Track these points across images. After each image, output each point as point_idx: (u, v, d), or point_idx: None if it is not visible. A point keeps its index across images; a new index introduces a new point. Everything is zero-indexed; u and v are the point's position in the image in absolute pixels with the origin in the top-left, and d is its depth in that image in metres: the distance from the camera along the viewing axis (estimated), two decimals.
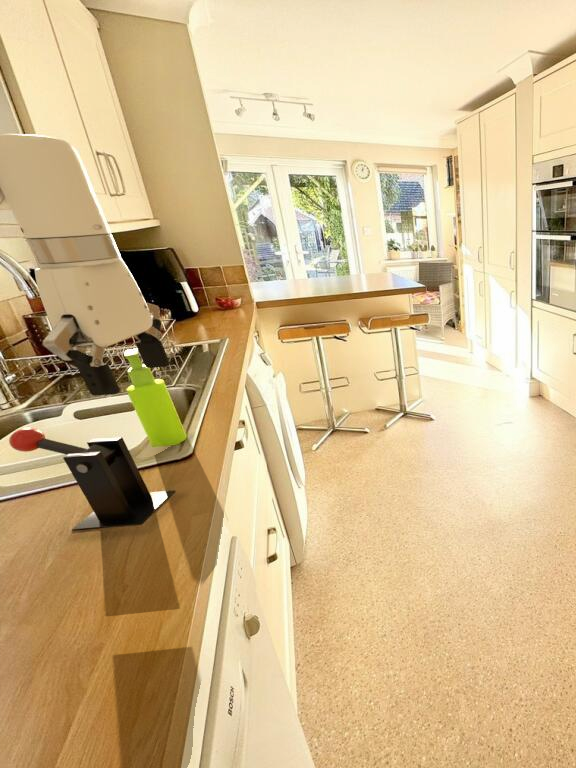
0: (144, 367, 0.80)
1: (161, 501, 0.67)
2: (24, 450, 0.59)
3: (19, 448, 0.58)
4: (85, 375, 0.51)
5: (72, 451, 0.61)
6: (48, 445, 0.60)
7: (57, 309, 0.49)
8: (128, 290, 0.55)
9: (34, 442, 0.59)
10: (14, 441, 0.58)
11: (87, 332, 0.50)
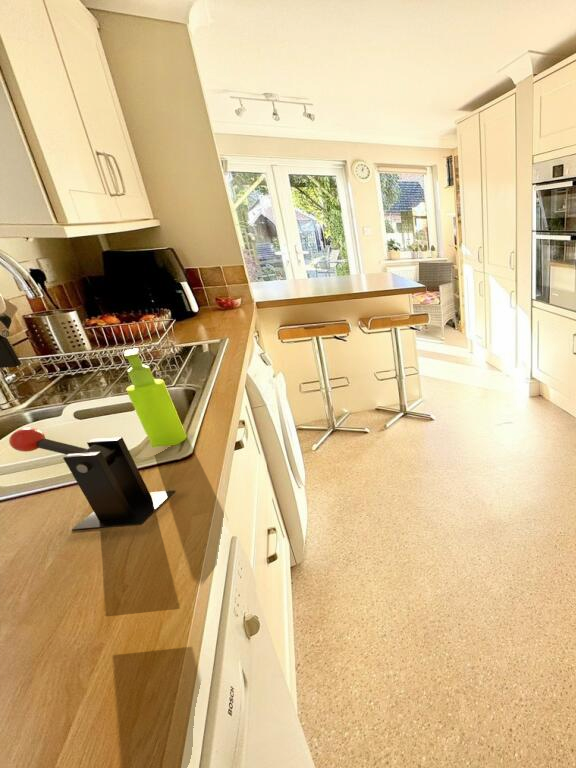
0: (144, 367, 0.80)
1: (161, 501, 0.67)
2: (24, 450, 0.59)
3: (19, 448, 0.58)
4: None
5: (72, 451, 0.61)
6: (48, 445, 0.60)
7: None
8: None
9: (34, 442, 0.59)
10: (14, 441, 0.58)
11: None
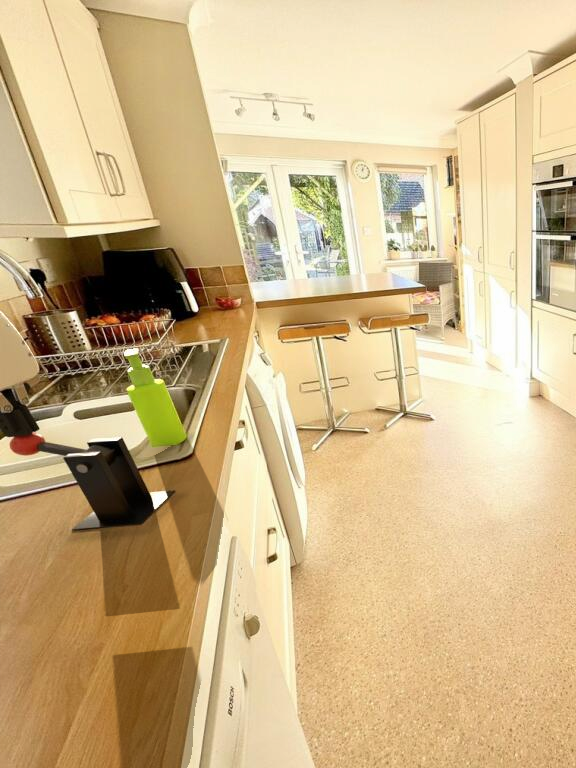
0: (144, 367, 0.80)
1: (161, 501, 0.67)
2: (25, 454, 0.59)
3: (19, 452, 0.59)
4: None
5: (72, 452, 0.61)
6: (48, 448, 0.60)
7: None
8: (6, 341, 0.56)
9: (34, 445, 0.59)
10: (14, 445, 0.58)
11: None
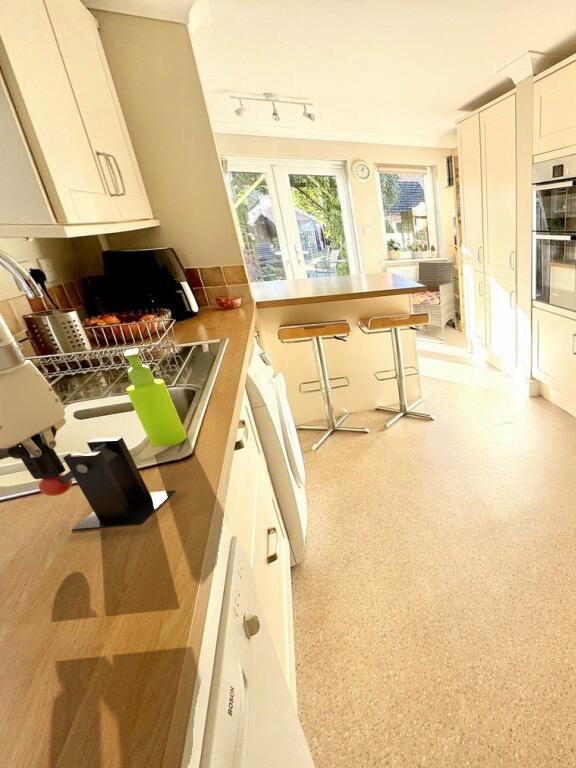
0: (144, 367, 0.80)
1: (161, 501, 0.67)
2: (56, 491, 0.62)
3: (49, 492, 0.62)
4: (27, 464, 0.60)
5: None
6: (64, 475, 0.62)
7: None
8: (35, 390, 0.59)
9: (55, 480, 0.62)
10: (41, 488, 0.61)
11: None
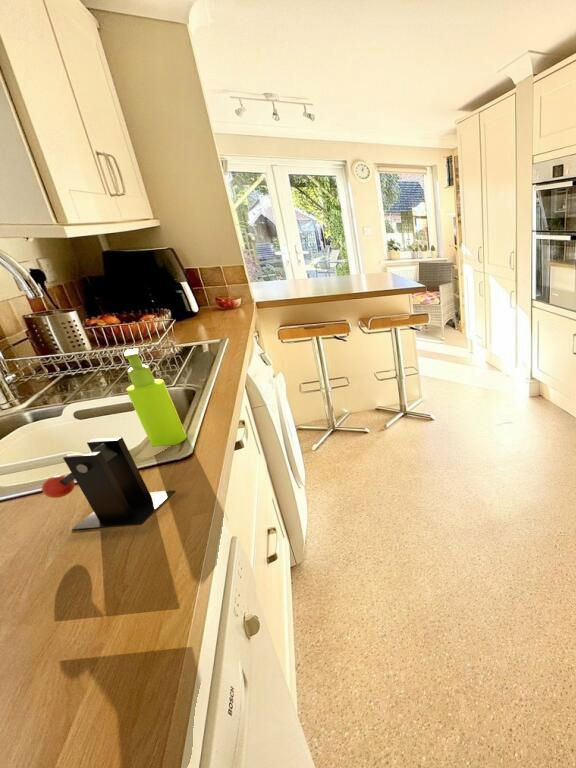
0: (144, 367, 0.80)
1: (161, 501, 0.67)
2: (59, 493, 0.62)
3: (52, 494, 0.62)
4: None
5: None
6: (66, 477, 0.62)
7: None
8: None
9: (57, 482, 0.62)
10: (44, 491, 0.62)
11: None
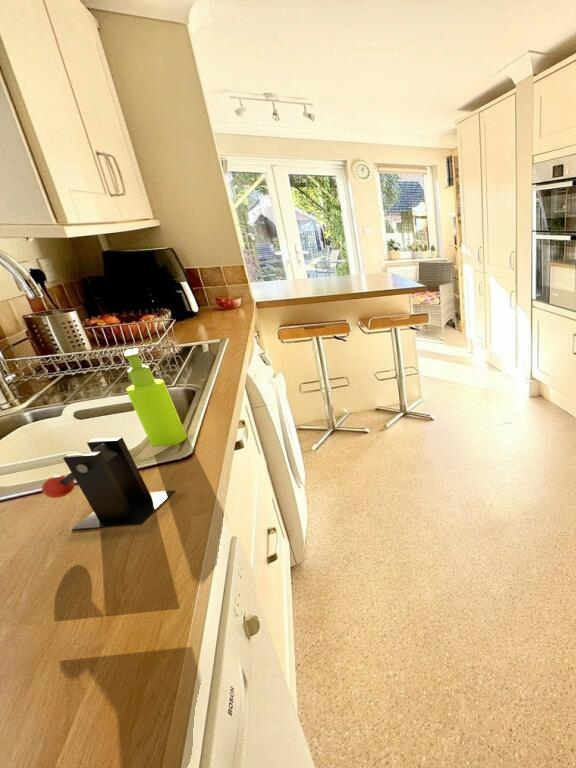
0: (144, 367, 0.80)
1: (161, 501, 0.67)
2: (59, 493, 0.62)
3: (52, 494, 0.62)
4: None
5: None
6: (66, 477, 0.62)
7: None
8: None
9: (57, 482, 0.62)
10: (44, 491, 0.62)
11: None
